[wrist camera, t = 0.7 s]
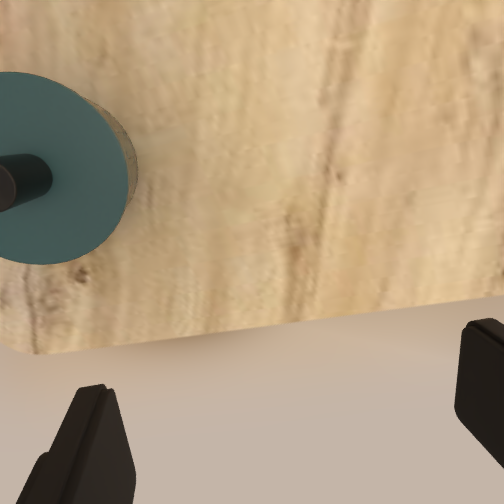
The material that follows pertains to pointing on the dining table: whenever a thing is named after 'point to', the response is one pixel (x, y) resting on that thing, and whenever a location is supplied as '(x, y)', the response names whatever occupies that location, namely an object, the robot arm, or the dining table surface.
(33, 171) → the pot lid
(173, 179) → the dining table surface
